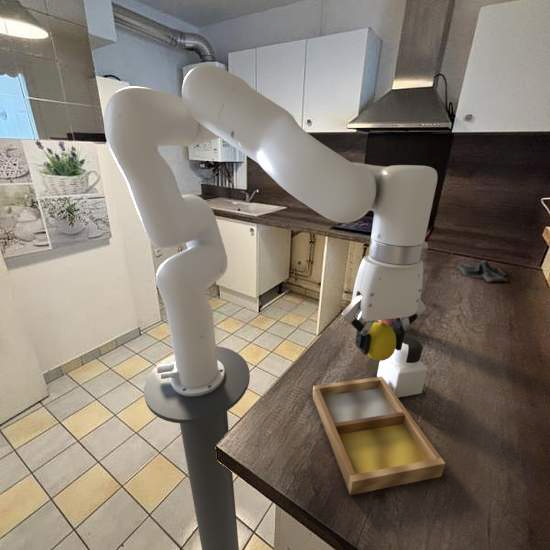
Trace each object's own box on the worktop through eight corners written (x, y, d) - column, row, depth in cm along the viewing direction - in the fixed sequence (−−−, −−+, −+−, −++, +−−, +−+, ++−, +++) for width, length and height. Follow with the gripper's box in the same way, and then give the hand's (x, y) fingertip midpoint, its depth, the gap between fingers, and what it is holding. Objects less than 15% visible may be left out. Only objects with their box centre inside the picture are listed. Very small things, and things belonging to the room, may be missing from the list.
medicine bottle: (402, 372, 71) (412, 330, 66) (422, 393, 64) (434, 349, 60) (376, 376, 69) (383, 334, 65) (393, 399, 63) (403, 354, 58)
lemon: (389, 374, 49) (397, 335, 46) (357, 363, 52) (362, 325, 49) (394, 356, 54) (401, 318, 51) (364, 347, 56) (369, 311, 53)
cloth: (503, 286, 116) (508, 272, 113) (452, 273, 128) (455, 260, 126) (514, 271, 130) (518, 259, 128) (467, 261, 142) (470, 249, 140)
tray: (350, 495, 45) (352, 481, 44) (312, 397, 63) (313, 385, 62) (441, 476, 48) (445, 463, 47) (379, 387, 66) (382, 376, 65)
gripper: (427, 241, 50) (408, 330, 57) (333, 247, 46) (325, 341, 54) (461, 255, 43) (435, 354, 50) (353, 263, 40) (341, 368, 47)
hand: (378, 346), depth 52 cm, fingers closed on lemon, 5 cm apart
